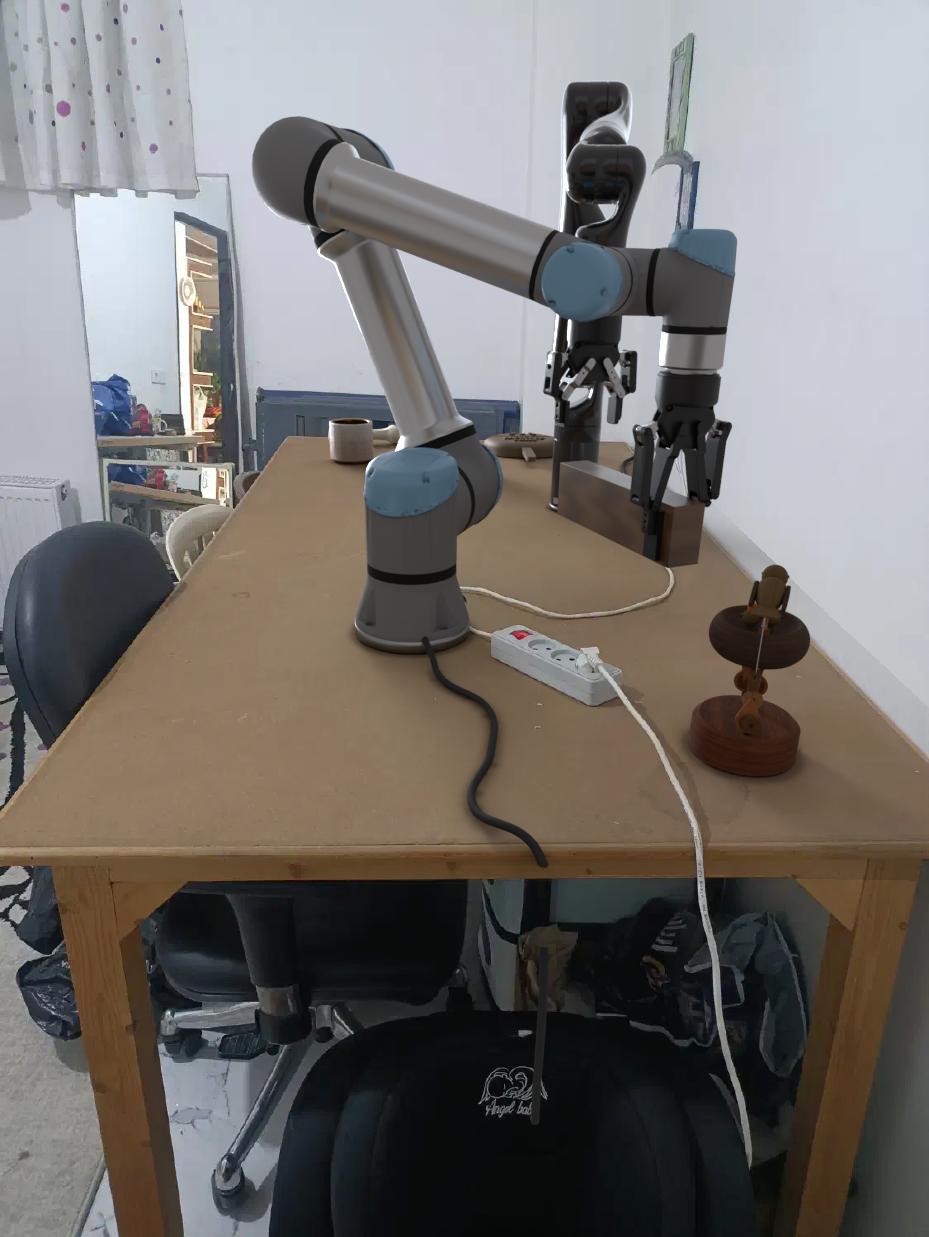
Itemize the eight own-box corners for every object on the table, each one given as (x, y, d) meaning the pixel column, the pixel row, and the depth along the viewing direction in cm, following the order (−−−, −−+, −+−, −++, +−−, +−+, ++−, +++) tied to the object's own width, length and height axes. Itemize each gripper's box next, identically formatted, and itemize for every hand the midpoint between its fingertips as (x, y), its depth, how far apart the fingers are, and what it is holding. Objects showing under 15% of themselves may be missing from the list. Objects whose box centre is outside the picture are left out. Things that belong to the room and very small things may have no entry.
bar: (697, 564, 109) (705, 503, 106) (667, 568, 107) (674, 506, 104) (583, 510, 132) (587, 460, 129) (557, 513, 130) (560, 462, 127)
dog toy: (400, 440, 239) (399, 422, 237) (402, 444, 234) (401, 426, 232) (328, 441, 236) (327, 423, 234) (328, 445, 231) (327, 427, 229)
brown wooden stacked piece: (818, 789, 79) (839, 589, 72) (698, 789, 81) (706, 593, 73) (780, 711, 93) (794, 537, 86) (678, 712, 95) (683, 541, 87)
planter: (327, 456, 217) (325, 418, 214) (369, 454, 220) (368, 417, 217) (334, 465, 208) (332, 425, 204) (377, 463, 211) (376, 424, 207)
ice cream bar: (489, 467, 208) (489, 450, 207) (482, 445, 234) (482, 430, 233) (574, 467, 209) (575, 450, 208) (557, 446, 235) (558, 430, 234)
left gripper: (727, 365, 108) (704, 540, 117) (609, 369, 101) (594, 554, 110) (769, 371, 102) (741, 556, 110) (646, 376, 95) (627, 572, 104)
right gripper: (623, 307, 124) (614, 419, 130) (538, 306, 118) (532, 423, 124) (654, 308, 117) (643, 426, 123) (565, 307, 112) (558, 431, 118)
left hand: (668, 555), depth 110 cm, fingers closed on bar, 5 cm apart
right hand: (587, 425), depth 124 cm, fingers open, 8 cm apart
